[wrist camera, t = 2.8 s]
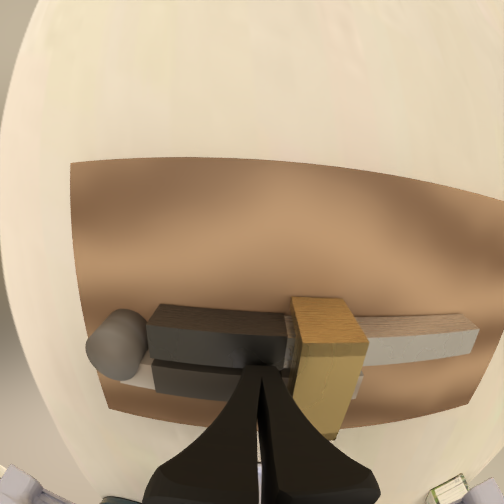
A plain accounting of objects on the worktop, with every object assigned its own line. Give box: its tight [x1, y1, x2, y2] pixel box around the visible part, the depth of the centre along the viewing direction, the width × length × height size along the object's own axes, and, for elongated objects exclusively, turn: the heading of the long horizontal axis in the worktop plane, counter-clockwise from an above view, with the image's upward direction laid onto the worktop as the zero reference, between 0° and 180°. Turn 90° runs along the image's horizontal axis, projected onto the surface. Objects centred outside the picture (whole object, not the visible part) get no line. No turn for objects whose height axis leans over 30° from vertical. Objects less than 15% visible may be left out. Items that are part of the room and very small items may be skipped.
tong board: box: [70, 157, 504, 431], centre depth 13 cm, size 16×28×4 cm, turn 87°
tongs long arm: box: [146, 304, 480, 370], centre depth 13 cm, size 2×17×2 cm, turn 86°
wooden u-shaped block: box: [287, 297, 370, 441], centre depth 12 cm, size 6×2×4 cm, turn 177°
